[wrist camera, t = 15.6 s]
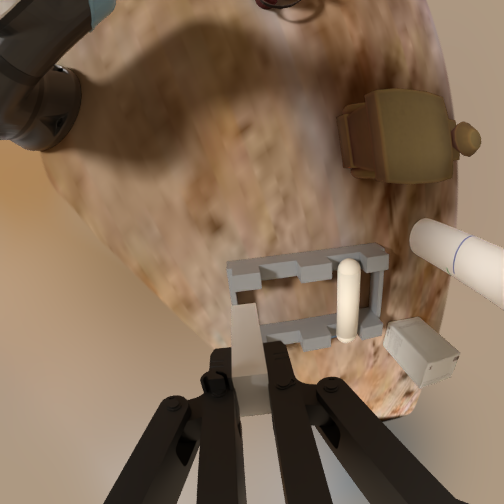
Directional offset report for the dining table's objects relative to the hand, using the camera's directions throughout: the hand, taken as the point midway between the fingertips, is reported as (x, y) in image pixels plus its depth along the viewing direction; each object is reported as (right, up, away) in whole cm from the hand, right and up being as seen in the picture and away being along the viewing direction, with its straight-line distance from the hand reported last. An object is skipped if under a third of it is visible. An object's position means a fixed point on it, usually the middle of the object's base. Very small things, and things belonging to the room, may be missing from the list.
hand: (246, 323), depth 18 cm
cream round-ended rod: (+15, -3, +26) cm, 30 cm away
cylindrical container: (+32, +7, +28) cm, 43 cm away
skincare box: (+31, -11, +33) cm, 47 cm away
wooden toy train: (+22, +22, +23) cm, 38 cm away
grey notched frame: (+10, -2, +29) cm, 31 cm away
